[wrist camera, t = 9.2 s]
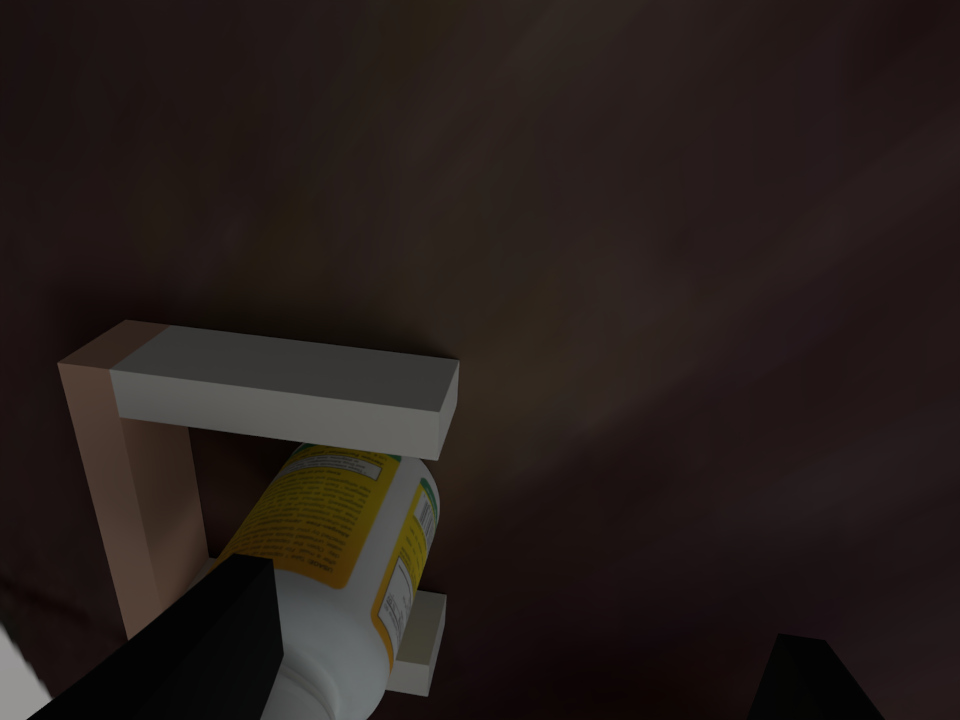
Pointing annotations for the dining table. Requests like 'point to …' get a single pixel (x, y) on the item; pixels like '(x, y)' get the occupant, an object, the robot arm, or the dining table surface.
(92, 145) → the dining table surface
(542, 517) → the dining table surface
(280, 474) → the supplement bottle
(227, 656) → the robot arm
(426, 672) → the frame
